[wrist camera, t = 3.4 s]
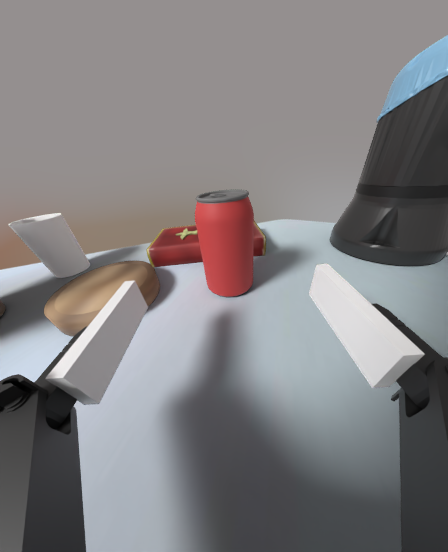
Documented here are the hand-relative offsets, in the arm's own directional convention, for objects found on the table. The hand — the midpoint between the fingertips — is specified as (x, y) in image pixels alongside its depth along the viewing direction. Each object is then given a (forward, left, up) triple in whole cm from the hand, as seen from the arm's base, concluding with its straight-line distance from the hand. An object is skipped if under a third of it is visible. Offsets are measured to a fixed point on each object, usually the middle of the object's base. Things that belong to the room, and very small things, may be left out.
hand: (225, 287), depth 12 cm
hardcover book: (+4, -23, -8) cm, 24 cm away
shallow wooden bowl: (+17, -8, -7) cm, 20 cm away
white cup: (+31, -18, -7) cm, 36 cm away
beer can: (0, -9, -7) cm, 12 cm away
